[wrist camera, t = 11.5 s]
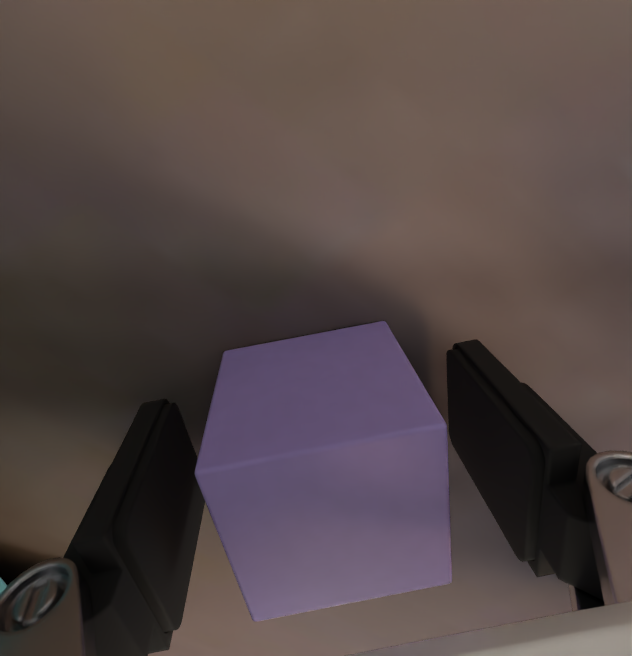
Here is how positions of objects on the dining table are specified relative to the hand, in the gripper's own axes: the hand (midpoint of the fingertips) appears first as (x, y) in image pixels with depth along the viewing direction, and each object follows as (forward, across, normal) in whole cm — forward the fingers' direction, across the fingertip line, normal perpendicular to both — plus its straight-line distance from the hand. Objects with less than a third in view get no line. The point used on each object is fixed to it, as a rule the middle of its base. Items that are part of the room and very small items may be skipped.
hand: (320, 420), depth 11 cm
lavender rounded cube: (+1, 0, 0) cm, 1 cm away
